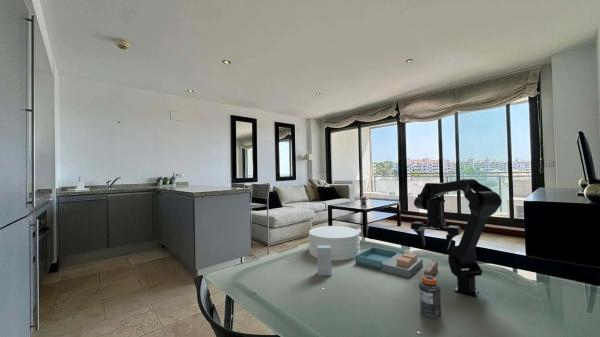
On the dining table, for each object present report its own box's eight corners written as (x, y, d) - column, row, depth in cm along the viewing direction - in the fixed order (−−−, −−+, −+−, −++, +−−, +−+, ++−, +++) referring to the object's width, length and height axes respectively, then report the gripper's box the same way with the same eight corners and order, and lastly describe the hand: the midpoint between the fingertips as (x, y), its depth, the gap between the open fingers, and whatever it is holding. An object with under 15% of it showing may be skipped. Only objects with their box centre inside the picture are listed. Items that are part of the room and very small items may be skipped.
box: (381, 270, 114) (381, 261, 114) (355, 263, 123) (355, 255, 123) (396, 259, 128) (396, 251, 128) (372, 254, 136) (372, 246, 136)
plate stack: (301, 248, 149) (300, 229, 149) (341, 242, 161) (340, 224, 161) (325, 264, 124) (325, 240, 124) (370, 255, 135) (370, 233, 136)
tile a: (408, 267, 109) (408, 261, 109) (396, 264, 113) (396, 259, 113) (412, 264, 113) (412, 258, 113) (400, 261, 116) (400, 256, 116)
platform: (409, 277, 106) (409, 270, 106) (382, 270, 114) (381, 263, 114) (422, 265, 120) (422, 258, 120) (397, 259, 128) (397, 253, 128)
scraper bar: (429, 282, 102) (429, 272, 102) (424, 281, 103) (423, 271, 103) (437, 269, 114) (437, 260, 114) (432, 268, 116) (432, 260, 116)
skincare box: (331, 271, 114) (330, 245, 114) (331, 275, 110) (331, 248, 110) (317, 271, 114) (317, 245, 115) (317, 275, 110) (317, 247, 110)
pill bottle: (434, 308, 83) (433, 273, 83) (445, 318, 77) (444, 281, 77) (416, 308, 83) (415, 274, 83) (425, 319, 77) (425, 281, 77)
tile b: (413, 262, 115) (413, 257, 115) (402, 260, 118) (402, 255, 118) (417, 259, 118) (417, 254, 118) (406, 257, 122) (406, 252, 122)
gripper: (463, 211, 109) (465, 247, 109) (418, 207, 122) (419, 240, 122) (457, 214, 101) (458, 254, 101) (409, 210, 114) (410, 245, 114)
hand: (435, 247), depth 109 cm, fingers open, 9 cm apart
